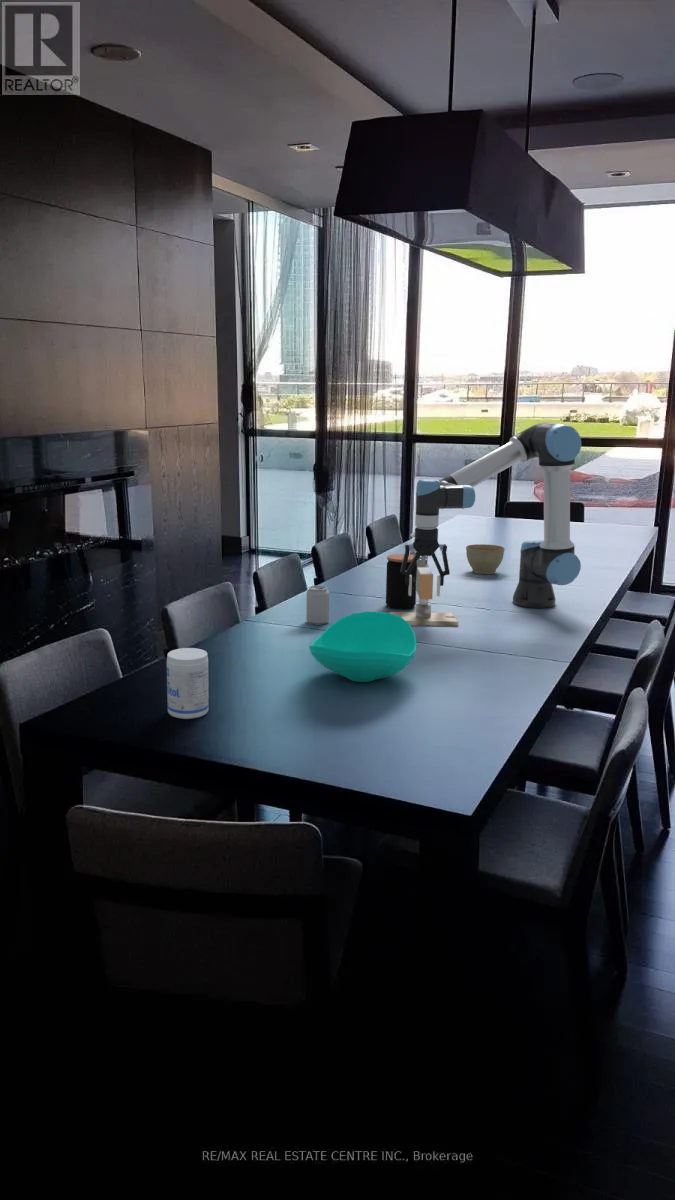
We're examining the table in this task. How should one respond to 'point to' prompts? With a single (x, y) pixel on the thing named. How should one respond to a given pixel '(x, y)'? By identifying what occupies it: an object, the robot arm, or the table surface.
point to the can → (317, 605)
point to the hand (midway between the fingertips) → (423, 595)
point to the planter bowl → (484, 557)
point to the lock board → (429, 621)
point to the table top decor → (366, 646)
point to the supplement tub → (187, 683)
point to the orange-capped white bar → (424, 585)
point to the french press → (423, 558)
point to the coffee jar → (399, 583)
